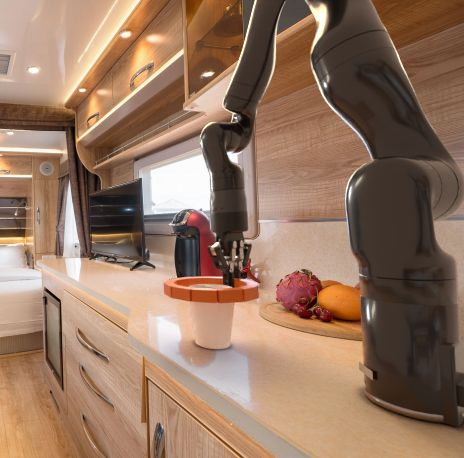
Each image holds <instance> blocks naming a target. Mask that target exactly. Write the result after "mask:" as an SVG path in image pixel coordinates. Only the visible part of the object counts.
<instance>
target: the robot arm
mask: <svg viewBox="0 0 464 458" xmlns="http://www.w3.org/2000/svg"><path fill="white" fill-rule="evenodd" d="M304 1H305V3H306V4H307V6H308V8H309V11H310V12H311V14H312V16H313V19H314V23H315V32H314V36H313V39H312V42H311V46H310V51H309V65H310V68H311V71H312V74H313V76H314V80H315V82H316V85H317V88H318V90H319V91H320V94H321V96H322V99H324V102H325V103H326V104H327V105H328V106H329V107H330V108H331V110H332V111H333V112H334V113H335V114H336V115H337V116H338V117H339V118H340V119H341V120H342V121H343V122H344V123H345V124H346V125H347V126H348V127H350V129H351V130H353V131H354V132H355V134H356V135H357V136H358V137H359V138H360V140H361V141H362V142H363V144H364V145H365V147H366V149H367V151H368V154H369V156H370V159H369V160H368V161H366V162H364V163H362V164H361V165H359V166H358V167H357V168H356V169H355V170H354V172H352V175H351V176H350V178H349V180H348V182H347V185H346V188H345V195H344V197H345V199H344V200H345V215H346V223H347V224H346V225H347V233H348V241H349V247H350V251H351V253H352V255H353V257H354V259H355V260H356V263H357V265H358V267H357V268H358V281H359V285H358V286H359V302H360V318H361V319H360V322H361V324H360V325H361V338H362V339H361V341H362V360H363V363H362V362H360V361H358V370H359V371H360V372H362V373H363V383H364V384H363V394H364V395H365V397H366V398H367V399H368V400H370V401H371V402H373V403H374V404H376V405H378V406H380V407H382V408H384V409H386V410H388V411H391V412H393V413H397V414H400V415H403V416H406V417H408V418H409V417H410V418H414V419H418V420H423V421H428V422H435V423H441V424H445V425H450V426H453V427H457V428H458V427H460V426H461V425H462V423H463V422H464V336H463V335H462V334H461V332H462V331H461V330H462V329H461V314H460V295H459V279H458V277H459V274H458V262H457V259H456V257H455V256H454V255H452V254H451V253H449V252H448V251H446V250H444V249H443V247H442V246H441V245H440V244H439V242H438V240H437V236H436V230H435V223H438V222H440V221H444V220H446V219H448V218H450V217H451V216H453V215H454V214H456V213H457V212H458V210H459V209H460V208H461V207H462V205H463V204H464V172H463V170H462V168H461V167H460V165H459V164H458V163H457V161H456V159H455V157H453V155H452V154H451V152H450V151H449V149H448V148H447V147H446V145H445V144H444V142H443V140H442V139H441V138H440V137H439V135H438V133H437V132H436V130H435V129H434V128H433V126H432V124H431V123H430V121H429V120H428V117H427V116H426V114H425V112H424V110H423V108H422V106H421V103H420V101H419V99H418V96H417V94H416V91H415V89H414V87H413V85H412V83H411V80H410V79H409V77H408V74H407V72H406V70H405V68H404V66H403V63H402V61H401V59H400V56H399V53H398V51H397V49H396V47H395V45H394V43H393V41H392V38H391V36H390V34H389V32H388V30H387V28H386V27H385V25H384V23H383V22H382V20H381V18H380V16H379V14H378V11H377V9H376V7H375V4H374V3H373V2H372V0H304ZM286 2H287V0H254V4H253V7H252V11H251V15H250V19H249V23H248V27H247V31H246V35H245V39H244V42H243V46H242V50H241V53H240V56H239V59H238V62H237V65H236V67H235V69H234V72H233V74H232V76H231V79H230V81H229V85H228V87H227V90H226V92H225V95H224V97H223V98H222V99H223V100H222V108H224V110H226V111H228V112H229V113H232V117H231V121H230V122H229V121H211V122H209V123H208V124H206V125H205V126H204V127H203V129H202V130H201V134H200V135H199V136H200V137H199V147H200V151H201V154H202V157H203V160H204V163H205V167H206V169H207V173H208V174H209V190H210V195H209V213H210V216H209V217H210V231H211V232H212V233H214V234H215V239H214V244H213V245H208V246H207V252H208V254H209V257H210V260H211V261H212V264H213V267H214V269H215V270H219V271H220V272H221V273H222V277H223V285H226V286H230V287H232V288H234V278H240V279H242V274H241V273H242V271H243V268H247V266H248V264H249V259H250V256H251V252H252V248H253V244H252V243H251V242H246V240H245V235H244V233H246V232H248V231H249V216H248V215H249V214H248V213H249V212H248V199H247V198H248V197H247V194H246V182H245V181H246V180H245V170H244V166H243V165H241V164H239V163H237V162H235V161H233V160H232V159H230V156H229V155H231V156H232V155H234V156H235V155H239V154H241V153H242V152H244V151H245V150H246V149H247V147H248V146H249V145H250V143H251V141H252V138H253V135H254V130H255V124H256V120H257V115H258V110H259V106H260V104H261V102H262V100H263V97H264V96H265V93H266V91H267V89H268V87H269V85H270V83H271V81H272V78H273V75H274V73H275V69H276V60H277V34H278V33H277V32H278V27H279V26H278V25H279V21H280V16H281V13H282V12H283V8H284V6H285V4H286Z"/></svg>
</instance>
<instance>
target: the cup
mask: <svg viewBox="0 0 464 458" xmlns="http://www.w3.org/2000/svg"><path fill="white" fill-rule="evenodd" d="M188 287H192V288H210V289H220V288H232V287H230V286H226V285H218V284H197V285H191V286H188ZM187 303H188V310H189V315H190V320H191V325H192V330H193V337H194V341H195V344H196V345H197V346H199V347H202V348H204V349H208V350H224V349H228V348H229V347H230V346H231V339H232V331H233V320H234V311H235V303H218V302H217V303H203V302H192V301H190V302H189V301H187Z"/></svg>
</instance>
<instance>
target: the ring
mask: <svg viewBox="0 0 464 458" xmlns="http://www.w3.org/2000/svg"><path fill="white" fill-rule="evenodd" d="M197 284H218V285H223V276H183V277H176V278H170V279H167V280H165V281H164V282H163V294H164V295H165V296H167V297H169V298H170V299H175V300H178V301H179V300H180V301H185V302H188V301H189V302H190V301H192V302H203V303H217V302H218V303H234V304H236V303H246V302H250V301H254V300H258V299H260V295H259V294H260V293H259V282H257V281H254V280H250V279H246V278H241V279H240V278H234V288H220V289H210V288H192V287H188V286H191V285H197Z"/></svg>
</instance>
